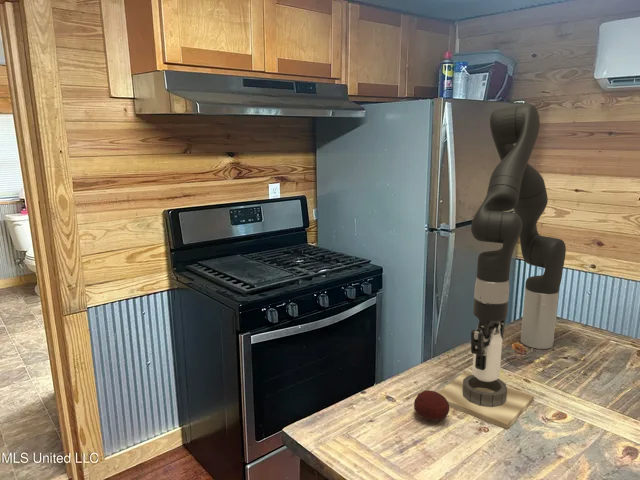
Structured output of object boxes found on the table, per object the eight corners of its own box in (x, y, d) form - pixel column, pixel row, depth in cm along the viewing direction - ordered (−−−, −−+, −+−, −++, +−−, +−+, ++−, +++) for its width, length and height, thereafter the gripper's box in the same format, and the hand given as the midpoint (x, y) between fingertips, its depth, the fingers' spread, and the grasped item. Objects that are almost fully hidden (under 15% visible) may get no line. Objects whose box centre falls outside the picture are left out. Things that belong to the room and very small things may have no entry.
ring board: (464, 376, 131) (465, 361, 130) (533, 400, 119) (535, 384, 118) (433, 400, 119) (434, 384, 118) (507, 429, 108) (508, 412, 107)
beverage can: (477, 368, 123) (481, 323, 120) (503, 376, 119) (506, 330, 116) (467, 378, 118) (470, 331, 115) (493, 386, 114) (497, 338, 111)
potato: (423, 430, 108) (424, 405, 106) (407, 410, 115) (408, 386, 114) (453, 424, 109) (455, 400, 108) (435, 405, 117) (436, 382, 116)
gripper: (488, 286, 121) (484, 349, 125) (461, 301, 111) (457, 369, 115) (519, 292, 116) (513, 358, 120) (493, 309, 106) (488, 380, 110)
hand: (486, 363), depth 117 cm, fingers closed on beverage can, 6 cm apart
